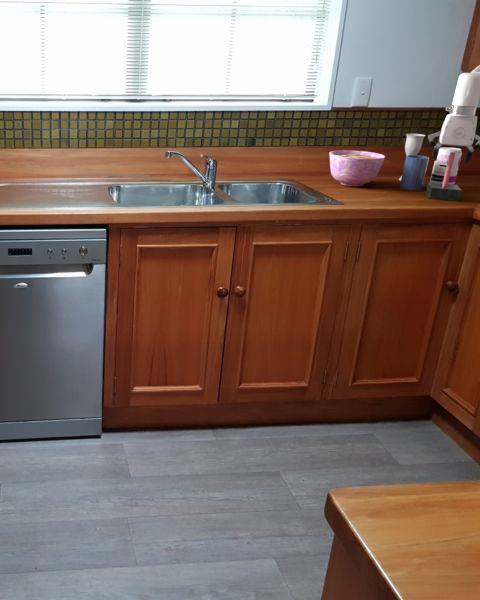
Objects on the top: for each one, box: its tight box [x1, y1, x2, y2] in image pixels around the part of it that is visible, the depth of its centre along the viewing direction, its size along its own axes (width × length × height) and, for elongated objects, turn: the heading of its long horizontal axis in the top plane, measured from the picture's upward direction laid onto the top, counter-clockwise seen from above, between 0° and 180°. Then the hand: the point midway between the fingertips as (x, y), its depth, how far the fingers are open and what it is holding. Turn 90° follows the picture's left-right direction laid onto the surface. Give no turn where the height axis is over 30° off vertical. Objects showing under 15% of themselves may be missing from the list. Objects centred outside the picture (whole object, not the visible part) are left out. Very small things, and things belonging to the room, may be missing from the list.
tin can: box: [399, 154, 430, 191], centre depth 230 cm, size 8×8×12 cm
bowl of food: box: [329, 149, 386, 187], centre depth 236 cm, size 20×20×12 cm
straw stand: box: [425, 182, 463, 202], centre depth 219 cm, size 9×9×4 cm
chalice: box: [398, 133, 426, 181], centre depth 244 cm, size 7×7×18 cm
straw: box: [442, 152, 455, 187], centre depth 216 cm, size 2×2×16 cm
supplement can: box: [429, 146, 463, 185], centre depth 231 cm, size 8×8×15 cm
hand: (449, 161), depth 214 cm, fingers open, 9 cm apart
